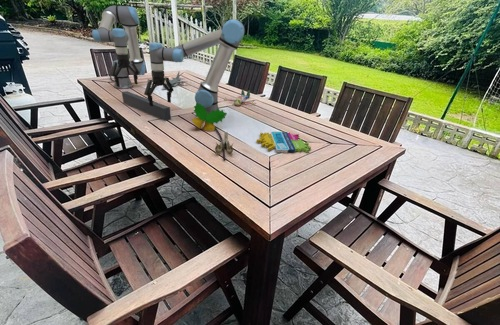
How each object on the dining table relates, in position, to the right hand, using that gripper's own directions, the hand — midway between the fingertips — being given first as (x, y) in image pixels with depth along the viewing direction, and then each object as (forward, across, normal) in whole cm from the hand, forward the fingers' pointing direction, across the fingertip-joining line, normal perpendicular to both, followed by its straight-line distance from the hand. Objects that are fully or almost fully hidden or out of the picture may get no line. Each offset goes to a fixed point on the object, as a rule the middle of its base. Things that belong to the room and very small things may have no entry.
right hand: (160, 104), depth 171 cm
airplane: (+10, -61, -68) cm, 92 cm away
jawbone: (+8, +6, +64) cm, 65 cm away
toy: (+8, -72, +10) cm, 73 cm away
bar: (+10, 0, -20) cm, 22 cm away
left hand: (-4, 0, -40) cm, 40 cm away
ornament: (+9, -10, +36) cm, 38 cm away
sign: (+8, -26, +80) cm, 84 cm away
